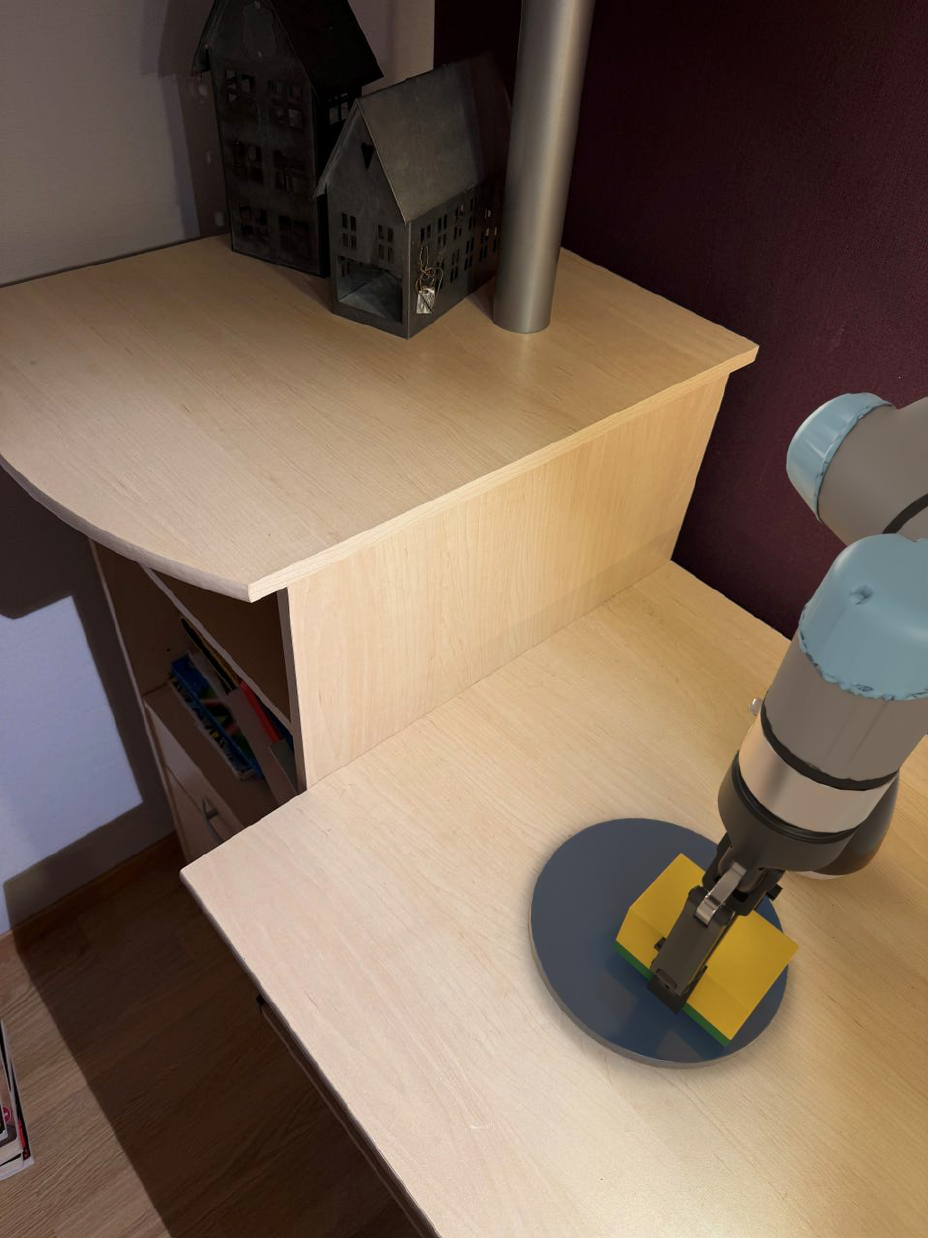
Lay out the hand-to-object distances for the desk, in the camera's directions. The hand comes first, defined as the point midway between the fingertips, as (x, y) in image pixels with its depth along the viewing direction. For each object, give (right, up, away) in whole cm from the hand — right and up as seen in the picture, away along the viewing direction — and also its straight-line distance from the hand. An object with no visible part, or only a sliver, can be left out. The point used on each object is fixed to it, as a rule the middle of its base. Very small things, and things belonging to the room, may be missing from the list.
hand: (692, 963), depth 67 cm
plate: (-2, +1, +4) cm, 5 cm away
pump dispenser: (+12, +6, +12) cm, 18 cm away
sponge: (0, 0, 0) cm, 0 cm away
